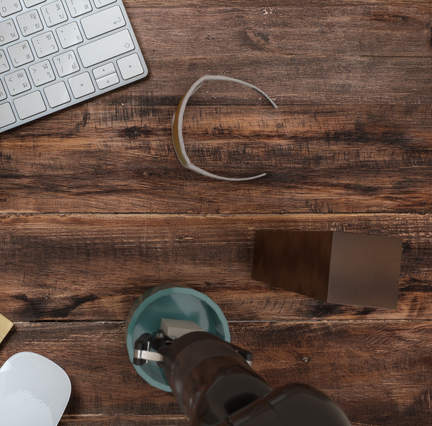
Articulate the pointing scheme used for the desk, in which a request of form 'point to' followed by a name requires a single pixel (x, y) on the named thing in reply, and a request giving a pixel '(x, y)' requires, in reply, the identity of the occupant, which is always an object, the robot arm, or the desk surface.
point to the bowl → (170, 309)
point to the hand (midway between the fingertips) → (177, 338)
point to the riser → (331, 266)
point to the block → (178, 327)
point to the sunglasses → (179, 117)
